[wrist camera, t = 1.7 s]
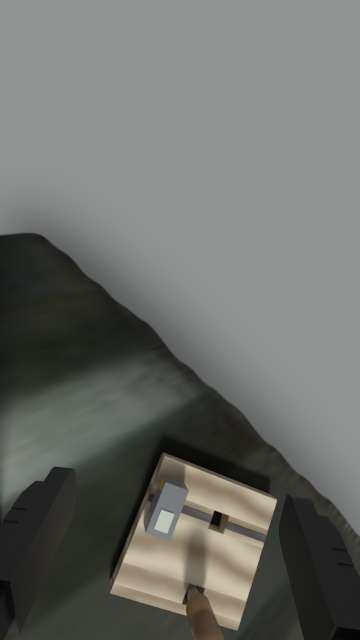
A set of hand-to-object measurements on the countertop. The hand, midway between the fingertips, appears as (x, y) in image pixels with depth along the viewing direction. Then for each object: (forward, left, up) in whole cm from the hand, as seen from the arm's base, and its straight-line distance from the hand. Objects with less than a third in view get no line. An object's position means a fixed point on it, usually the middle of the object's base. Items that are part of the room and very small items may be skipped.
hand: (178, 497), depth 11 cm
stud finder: (-15, -15, -41) cm, 46 cm away
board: (-19, -24, -43) cm, 53 cm away
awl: (-27, -26, -43) cm, 57 cm away
